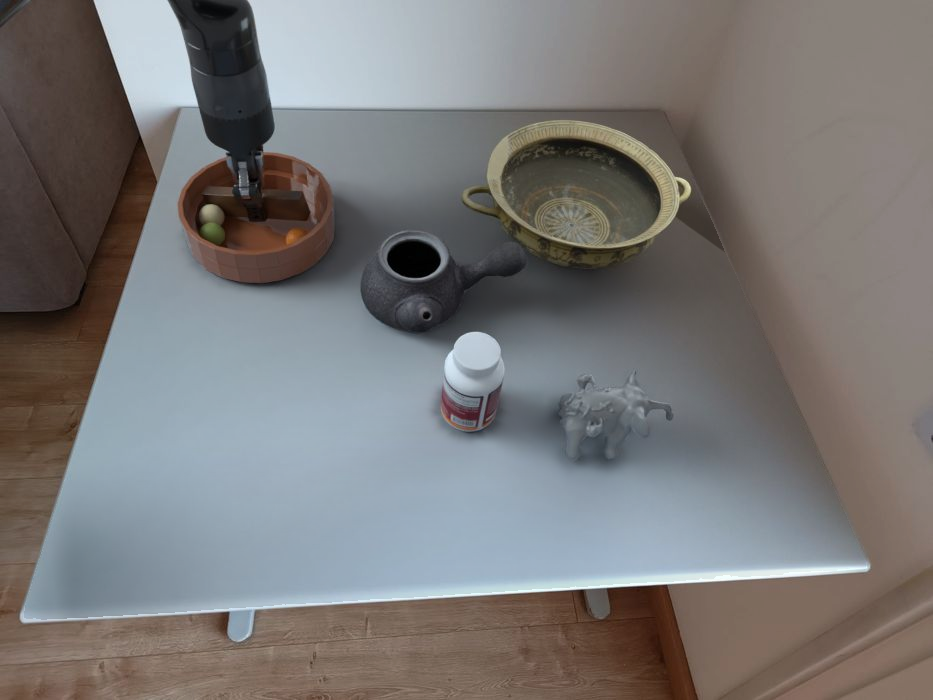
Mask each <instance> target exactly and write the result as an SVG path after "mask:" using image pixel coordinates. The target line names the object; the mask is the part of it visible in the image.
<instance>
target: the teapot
mask: <svg viewBox="0 0 933 700" xmlns="http://www.w3.org/2000/svg"><path fill="white" fill-rule="evenodd" d="M527 264H528V257H527V254H526V250H525V249H523V247H522V246H521V245H520V244H518V243H516V242H515V241H506V242H505V243H503V244H500V245H498V246H497V247H495V248H494V249H493V250H492V251H491V252H490V253H489V254H488V255H487V256H486V257H485V258H484V259H483V260H482V261H480V262H476V263H470V264H469V263H467V264H463V265H458V264H457V263H456V260H454V258H453V256H452V255H451V252H450V251H449V247H448V246H447V245H446V243H445V241H443V240H442V239H441V238H440V237H438V236H437V235H435V234H433V233H431V232H429V231H425V230H421V229H405V230H400V231H397V232H394V233H392V234H390V235H389V236H387V238H385V239H384V240H382V242H381V243H380V245H379V248H378V250H377V251H376V252H375V253H374V254H373V255H372V257H371V258H370V259H369V261H368V262H367V263H366V265H365V267H364V269H363V272H362V275H361V279H360V295H361V299H362V302H363V304H364V306H365V308H366V310H367V311H368V313H369V314H371V315H372V317H373V318H374V319H376V320H377V321H378V322H379V323H381V324H383V325H385V326H387V327H390V328H393V329H396V330H401V331H408V332H410V333H414V334H425V333H428V332H430V331H431V330H433V329H435V328H436V327H439V326H442V325H443V324H445V323H447V322H449V320H450V319H452V318H453V317H454V315H455V314H456V313H457V312H458V311H459V309H460V307H461V304H462V302H463V300H464V296H465V292H467V291H468V290H470V289H472V288H473V287H474V286H475V285H477V284H478V283H480V282H481V281H482V280H483V279H485V278H490V277H500V278H509V277H513V276H515V275H518V274H519V273H521V272H523V270H524V269H525V268H526V266H527Z"/></svg>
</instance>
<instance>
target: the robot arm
mask: <svg viewBox="0 0 933 700" xmlns="http://www.w3.org/2000/svg"><path fill="white" fill-rule="evenodd" d="M30 1H31V0H0V29H1V28H2V27H3V26H5V24H6V23H8V22H9V21H10V20H11V19H12V18H13V17H14V16H15V15H16V14H17V13H18V12H19V11H21V10H22V9H23V8H24V7H25V6H26V5H27V4H28V3H29V2H30ZM167 2H168V4H169V6H170V8H171V10H172V12H173V14H174V16H175V19H176V20H177V22H178V24H179V27H180V31H181V35H182V38H183V42H184V45H185V49H186V53H187V57H188V61H189V62H188V63H189V69H190V79H191V83H192V88H193V91H194V95H195V98H196V103H197V107H198V110H199V114H200V118H201V122H202V125H203V130H204V133H205V136H206V138H207V140H208V141H209V142H211V143H212V145H213V146H215V147H218V148H219V149H222V150H224V151H226V152H225V157H226V161H227V165H228V168H229V169H231V173H232V177H233V181H234V185H235V186H233V189H232V193H233V194H234V197H235V199H236V200H237V202H238V203H239V205H240V207H241V208H246V210H247V215H248V219H249V221H251V222H264V221H266V220H267V216H266V211H265V206H264V197H265V196H264V193H263V190H262V189H264V181H265V177H264V172H263V171H264V170H265V161H264V155H263V152H264V144H266V143H268V141H269V140H271V138H272V137H273V135H274V133H275V125H276V124H275V119H274V113H273V112H274V111H273V107H272V101H271V94H270V89H269V83H268V82H269V81H268V77H267V76H268V75H267V71H266V68H265V65H264V61H263V58H262V55H261V48H260V44H259V36H258V31H257V25H256V19H255V14H254V10H253V7H252V5H251V3H250V1H249V0H167Z"/></svg>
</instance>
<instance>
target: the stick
mask: <svg viewBox="0 0 933 700" xmlns="http://www.w3.org/2000/svg"><path fill="white" fill-rule="evenodd" d="M232 189H233V187H218V186H207V187H206V188H205V190H204V191H203V193H202V196H203V198H204V199H205V201H206V203H207V205H209V204H213V205H217V206H218V207H220V208H221V209H222V211H223V212H224V216H234V217H248V215H247V210H246V208H241V207H240V205H239V203H238V202H237V200H236V199H235V197H234V194H233V193H232ZM262 190H263V193H264V196H265V197H264V206H265V211H266V216H267V219H279V220H294V221H307V220H308V218H309V215H310V213H311V212H310V209H309V206H308V204H307V201H306V199H305V196H304V193H303V191H290V190H272V189H262Z"/></svg>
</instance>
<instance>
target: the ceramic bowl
mask: <svg viewBox="0 0 933 700" xmlns="http://www.w3.org/2000/svg"><path fill="white" fill-rule="evenodd" d="M486 183H487V184H485V185H483V184H482V185H474V186H469V187H468V188H466V189H464V190H463V191H462V193H461V201H462V204H463V205H464V206H465V207H466V208H468V209H469V210H471V211H473V212H475V213H478V214H481V215H484V216H488V217H492V218H494V219H497V220H498V222H499V224H500V225H501V227H502V228H503V230H504V231H505V232H506V234H507V235H508V237H509V238H511V239H512V241H513V242H516V243H518V244H520V245H521V246H522V247H523V249H524V251H527V252H528V253H530V254H531V255H533V256H535V257H537V258H539V259H541V260H544V261H547V262H548V263H552V264H555V265H559V266H562V267H566V268H574V269H582V270H583V269H584V270H585V269H586V270H587V269H588V270H592V269H593V270H594V269H603V268H610V267H614V266H618V265H621V264H625V263H626V262H628V261H631V260H633V259H634V258H636V257H638V256H640V255H641V254H642V253H643V252H645V251H646V250H647V249H648V248H649V247H650V246H651V245H652V244H653V243H654V241H655V240H656V238H657V237H658V236H659V234H660V233H661V232H663V231H664V230H666V228H667V227H669V225H670V224H671V223H672V222H673V220H674V219H675V218H676V215H677V214H678V212H679V209H680V208H679V207H680V205H681V204H682V203H684V202H686V201H687V200H688V198H689V197H690V196H691V192H692V187H691V185H690V183H689V182H688V181H687V180H686V179H684V178H682V177H677V176H675V174H674V173H673V172H672V170H671V169H670V167H669V166H668V165H667V163H666V162H665V161H664V160H663V159H662V158H661V157H660V156H659V155H658V153H656V152H655V151H654V150H652V149H650V148H649V146H647V145H646V144H644V143H643V142H641V141H640V140H638V139H636V138H634V137H633V136H630V135H629V134H626V133H624V132H622V131H620V130H617V129H613V128H612V127H609V126H606V125H602V124H599V123H595V122H589V121H581V120H573V119H555V120H546V121H540V122H535V123H531V124H527V125H525V126H522V127H520V128H518V129H516V130H514V131H512V132H510V133H508V135H506V136H504V137H503V138H502V139H501V140H500V141H499V142H498V143H497V144H496V145H495V147H494V148H493V150H492V152H491V153H490V157H489V159H488V163H487V170H486ZM679 187H680V188H682V190H683V193H682V194H681V195H680V191H679ZM475 194H476V195H477V194H487V195H489V196H491V198H492V204H493V207H488V206H485V205H482V204H479V203H477V202H474V201H473V200H472V199H470V197H471V196H472V195H475Z"/></svg>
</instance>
